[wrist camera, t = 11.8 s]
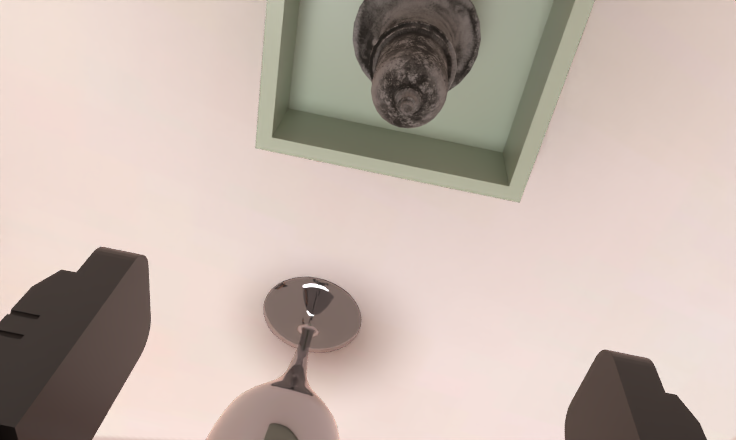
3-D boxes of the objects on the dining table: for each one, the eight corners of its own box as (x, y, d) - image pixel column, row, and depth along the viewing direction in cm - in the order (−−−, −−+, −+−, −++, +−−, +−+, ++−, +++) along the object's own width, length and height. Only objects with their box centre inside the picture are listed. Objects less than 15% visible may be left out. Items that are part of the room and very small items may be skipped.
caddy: (302, -169, 27) (279, -171, 23) (604, -106, 27) (631, -97, 23) (275, 114, 35) (255, 147, 31) (511, 163, 35) (519, 202, 31)
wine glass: (376, 352, 44) (349, 557, 32) (274, 359, 46) (210, 557, 33) (354, 267, 40) (314, 463, 28) (243, 277, 42) (158, 467, 29)
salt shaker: (500, -4, 29) (530, 80, 19) (437, 95, 32) (434, 211, 22) (396, -67, 28) (371, -14, 18) (341, 41, 31) (293, 137, 21)
